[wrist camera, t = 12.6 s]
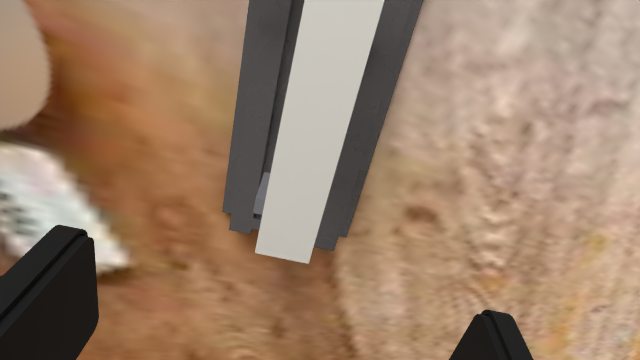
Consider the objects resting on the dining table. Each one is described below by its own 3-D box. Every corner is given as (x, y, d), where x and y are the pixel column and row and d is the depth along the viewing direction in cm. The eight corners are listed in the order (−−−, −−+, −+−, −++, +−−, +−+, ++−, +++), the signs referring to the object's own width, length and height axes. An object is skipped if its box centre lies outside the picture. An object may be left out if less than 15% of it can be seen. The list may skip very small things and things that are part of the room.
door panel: (370, -23, 23) (387, -10, 15) (316, 182, 30) (308, 263, 22) (309, -39, 23) (294, -34, 15) (268, 171, 30) (243, 250, 22)
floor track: (451, -101, 22) (466, -108, 20) (345, 229, 33) (346, 253, 31) (271, -150, 21) (262, -165, 19) (225, 205, 33) (215, 227, 30)
